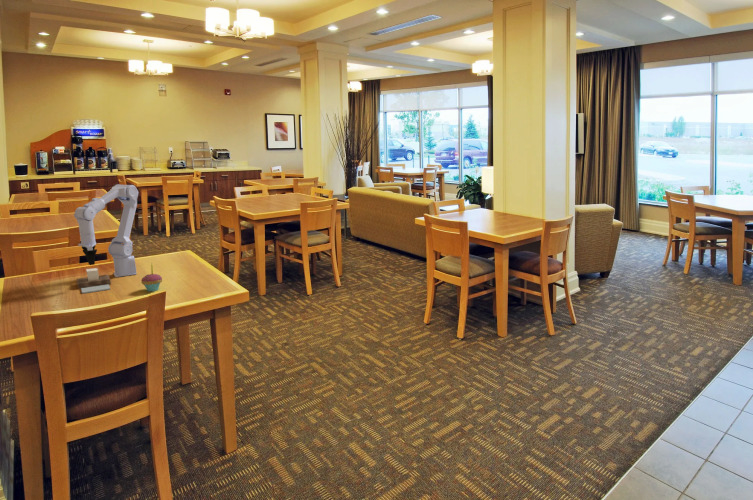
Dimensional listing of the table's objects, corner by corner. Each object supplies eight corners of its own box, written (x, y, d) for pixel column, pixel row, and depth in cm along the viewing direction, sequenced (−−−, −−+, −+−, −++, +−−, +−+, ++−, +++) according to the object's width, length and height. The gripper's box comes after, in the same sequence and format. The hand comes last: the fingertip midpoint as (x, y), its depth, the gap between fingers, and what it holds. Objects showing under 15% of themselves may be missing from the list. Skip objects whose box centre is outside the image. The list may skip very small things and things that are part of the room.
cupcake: (146, 287, 232) (143, 261, 229) (165, 286, 232) (163, 261, 229) (139, 293, 223) (136, 266, 220) (159, 292, 224) (157, 266, 221)
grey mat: (108, 285, 234) (108, 284, 234) (110, 289, 228) (110, 288, 228) (81, 289, 228) (81, 288, 228) (82, 293, 222) (82, 292, 222)
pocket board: (108, 279, 243) (108, 274, 242) (110, 284, 236) (110, 279, 235) (77, 284, 236) (76, 278, 236) (78, 289, 229) (77, 283, 228)
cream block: (99, 282, 239) (97, 267, 237) (99, 284, 235) (97, 270, 234) (88, 283, 237) (86, 269, 235) (89, 286, 233) (87, 271, 231)
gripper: (76, 231, 234) (80, 260, 237) (77, 237, 222) (82, 267, 225) (93, 230, 238) (97, 258, 241) (96, 235, 226) (100, 265, 229)
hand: (91, 262), depth 234 cm, fingers open, 7 cm apart
